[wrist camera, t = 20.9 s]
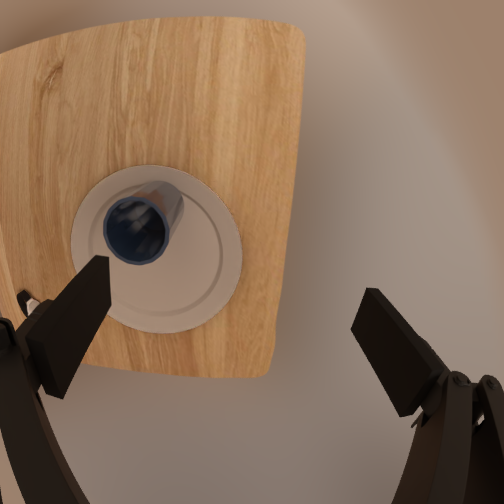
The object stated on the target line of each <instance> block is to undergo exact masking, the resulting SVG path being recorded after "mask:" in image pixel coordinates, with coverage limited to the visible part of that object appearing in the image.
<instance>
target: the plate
mask: <svg viewBox="0 0 504 504" xmlns="http://www.w3.org/2000/svg"><path fill="white" fill-rule="evenodd" d="M152 181H165V182H168V183H170V184H172V185H174V186H175V187H176V188H177V189H178V190H179V192H180V193H181V195H182V197H183V200H184V213H183V217H182V219H181V221H180V223H179V224H178V226H177V228H176V230H175V232H174V234H173V236H172V238H171V240H170V242H169V244H168V246H167V247H166V249H165V251H164V253H163V255H162V256H160V257H159V258H158V259H157V260H155V261H154V262H152V263H149V264H145V265H141V266H139V265H132V264H127V263H125V262H123V261H122V260H120V259H118V258H117V257H115V255H114V254H113V253H112V252H111V251H110V249H109V248H108V247H107V244H106V241H105V239H104V236H103V220H104V218H105V216H106V213H107V211H108V209H109V208H110V207H111V206H112V205H113V204H114V203H115V202H116V201H118V200H119V199H121V198H122V197H124V196H126V195H127V194H129V193H131V192H132V191H134V190H136V189H138V188H139V187H141V186H143V185H144V184H146V183H149V182H152ZM71 253H72V259H73V264H74V268H75V270H76V273H77V274H78V273H79V272H80V270H81V269H82V268H83V267H84V266H85V265H86V264H87V263H88V262H89V261H90V260H91V259H92V258H93V257H94V256H95V255H101V256H108V257H109V265H110V287H111V302H112V306H111V307H110V309H109V311H108V313H107V314H108V315H109V316H110V317H112V318H113V319H115V320H116V321H118V322H120V323H122V324H124V325H126V326H128V327H131V328H134V329H137V330H140V331H144V332H150V333H161V334H166V333H177V332H182V331H186V330H189V329H193V328H195V327H197V326H199V325H202V324H203V323H205V322H207V321H208V320H210V319H211V318H212V317H214V316H215V315H216V314H217V313H218V312H219V311H220V310H221V309H222V308H223V307H224V306H225V305H226V304H227V302H228V301H229V300H230V298H231V296H232V295H233V293H234V291H235V289H236V286H237V284H238V281H239V278H240V274H241V270H242V259H243V258H242V244H241V238H240V234H239V231H238V228H237V225H236V223H235V221H234V219H233V216H232V214H231V213H230V211H229V210H228V208H227V206H226V205H225V203H224V202H223V201H222V200H221V199H220V197H219V196H218V195H217V194H216V193H215V192H214V191H213V190H212V189H211V188H210V187H208V186H207V185H206V184H204V183H203V182H202V181H200V180H199V179H197V178H195V177H194V176H192V175H190V174H188V173H186V172H183V171H180V170H178V169H175V168H171V167H166V166H160V165H138V166H133V167H128V168H125V169H122V170H119V171H117V172H115V173H113V174H111V175H109V176H107V177H106V178H104V179H103V180H101V181H100V182H99V183H98V184H97V185H95V186H94V187H93V188H92V189H91V190H90V192H89V193H88V194H87V195H86V197H85V198H84V200H83V201H82V203H81V205H80V207H79V209H78V211H77V213H76V216H75V219H74V223H73V227H72V233H71Z"/></svg>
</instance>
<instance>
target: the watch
mask: <svg viewBox="0 0 504 504" xmlns="http://www.w3.org/2000/svg"><path fill="white" fill-rule="evenodd" d="M17 300H18V303H19V305H20V308H21V310H22V311H23V313H24V315H25V316H26V317H28V316H29V315H30V313H32V311H33V310H34V309H35V308H36V306H37V305H38V304H40V303H39V302H38V301H36V300H33V298H31V296H30V295H29V294H28V292H26V291H25V290H23V291H21V292H20V293H18V294H17ZM24 300H25V301H26V303H25V301H24Z"/></svg>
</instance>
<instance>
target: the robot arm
mask: <svg viewBox="0 0 504 504" xmlns="http://www.w3.org/2000/svg"><path fill="white" fill-rule="evenodd" d="M111 306H112V302H111V287H110V265H109V257H108V256H101V255H95V256H94V257H93V258H92V259H91V260H90V261H89V262H88V263H87V264H86V265H85V266H84V267H83V268H82V269H81V270H80V272H79V273H78V274H77V275H76V276H75V277H74V278H73V279H72V280H71V281H70V283H69V284H68V285H67V286H66V287H65V288H64V289H63V291H62V292H61V293H60V294H59V295H58V296H57V297H56V299H55V300H49V299H47V300H45V301H43V302H42V303H40V304H38V305H37V306H36V308H35V309H34V310H33V311H32V313H30V315H29V316H28V317H27V319H25V320H24V322H23V323H22V324H21V325H20V326H19V328H18V329H17V330H16V331H15V330H14V327H13V324H12V322H11V321H10V320H9V319H7V318H0V429H1V433H2V437H3V441H4V445H5V448H6V451H7V454H8V458H9V461H10V464H11V467H12V470H13V473H14V476H15V478H16V481H17V484H18V486H19V489H20V491H21V494H22V496H23V498H24V501H25V503H26V504H90V503H89V502H88V500H87V498H86V497H85V495H84V493H83V491H82V490H81V488H80V486H79V484H78V482H77V481H76V479H75V477H74V475H73V473H72V471H71V469H70V468H69V465H68V463H67V461H66V459H65V457H64V455H63V454H62V451H61V449H60V447H59V445H58V442H57V440H56V437H55V435H54V433H53V430H52V428H51V426H50V423H49V420H48V417H47V415H46V412H45V410H44V407H43V404H42V401H41V398H40V396H39V393H38V389H39V387H40V385H41V384H42V386H43V388H44V390H45V393H46V394H48V395H51V396H54V397H57V398H60V399H63V398H64V396H65V394H66V392H67V389H68V387H69V385H70V383H71V381H72V379H73V377H74V375H75V373H76V371H77V369H78V367H79V365H80V363H81V361H82V359H83V357H84V355H85V353H86V351H87V349H88V347H89V345H90V343H91V342H92V340H93V338H94V336H95V334H96V332H97V330H98V329H99V327H100V325H101V323H102V321H103V320H104V318H105V316H106V314H107V313H108V311H109V309H110V307H111ZM351 331H352V333H353V335H354V336H355V338H356V340H357V342H358V343H359V345H360V347H361V348H362V350H363V352H364V354H365V355H366V357H367V359H368V361H369V362H370V364H371V366H372V368H373V369H374V371H375V373H376V375H377V376H378V378H379V380H380V382H381V384H382V385H383V387H384V389H385V391H386V393H387V394H388V396H389V398H390V400H391V402H392V404H393V405H394V407H395V409H396V411H397V413H398V415H399V417H405V416H409V415H413V414H414V413H415V411H416V410H417V408H418V407H419V406H421V407H422V409H423V411H422V413H421V414H420V415H419V416H418V418H417V419H416V420H415V421H414V423H413V424H412V425H411V428H413V427H414V426H415V425H416V424H417V427H416V431H415V435H414V439H413V442H412V446H411V449H410V453H409V456H408V459H407V463H406V465H405V469H404V471H403V475H402V477H401V480H400V483H399V486H398V488H397V491H396V493H395V496H394V499H393V501H392V503H391V504H504V391H503V389H502V386H501V384H500V383H499V381H498V380H497V379H496V378H494V377H493V376H490V375H484V376H483V377H482V378H481V380H480V381H479V383H471V381H470V380H469V378H468V377H467V376H466V375H465V374H463V373H461V372H458V371H452V372H451V371H450V370H449V369H448V368H447V366H446V365H445V364H444V363H443V361H442V360H441V359H440V358H439V356H438V355H436V353H435V351H434V350H433V349H431V346H430V345H429V344H428V343H427V342H426V341H425V340H424V339H423V338H421V337H420V336H419V335H418V334H417V333H416V332H415V331H414V330H413V328H412V327H411V326H410V325H409V324H408V322H407V321H406V320H405V319H404V318H403V317H402V315H401V314H400V313H399V312H398V311H397V310H396V308H395V307H394V306H393V305H392V304H391V303H390V302H389V301H388V299H387V298H386V297H385V296H384V295H383V294H382V293H381V292H380V290H379V289H376V288H366V290H365V293H364V296H363V299H362V301H361V304H360V307H359V309H358V312H357V315H356V317H355V320H354V322H353V325H352V327H351ZM483 414H484V420H483V421H482V423H481V424H480V425H478V420H479V418H480V417H481V416H482V415H483ZM0 504H3V502H2V496H1V489H0Z"/></svg>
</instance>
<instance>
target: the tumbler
mask: <svg viewBox="0 0 504 504" xmlns="http://www.w3.org/2000/svg"><path fill="white" fill-rule="evenodd" d="M183 213H184V200H183V197H182V195H181V193H180V192H179V190H178V189H177V188H176V187H175V186H174V185H172V184H170V183H168V182H165V181H152V182H149V183H146V184H144V185H143V186H141V187H139V188H138V189H136V190H134V191H132V192H131V193H129V194H127V195H126V196H124V197H122V198H121V199H119V200H118V201H116V202H115V203H114V204H113V205H112V206H111V207H110V208H109V209H108V211H107V213H106V216H105V218H104V220H103V236H104V239H105V241H106V244H107V247H108V248H109V249H110V251H111V252H112V253H113V254H114V255H115V257H117V258H118V259H120V260H122V261H123V262H125V263H127V264H132V265H139V266H141V265H145V264H149V263H152V262H154V261H155V260H157V259H158V258H159V257H160V256H162V255H163V253H164V251H165V249H166V247H167V246H168V244H169V242H170V240H171V238H172V236H173V234H174V232H175V230H176V228H177V226H178V224H179V223H180V221H181V219H182V217H183Z"/></svg>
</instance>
